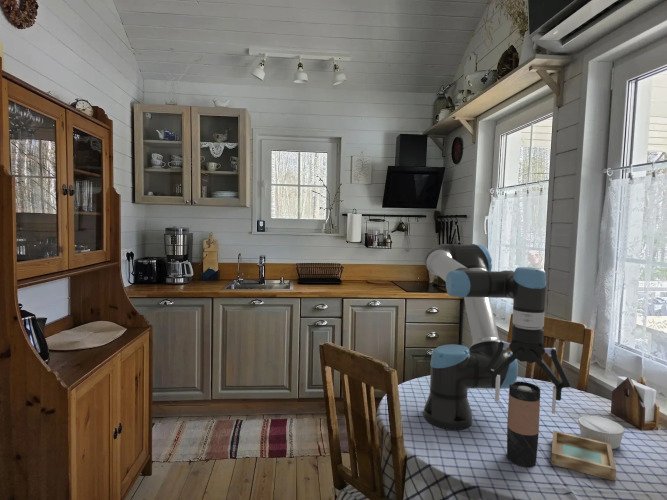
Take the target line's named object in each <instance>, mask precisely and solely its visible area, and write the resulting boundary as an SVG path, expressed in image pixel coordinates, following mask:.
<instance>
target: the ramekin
mask: <svg viewBox="0 0 667 500" xmlns="http://www.w3.org/2000/svg"><path fill="white" fill-rule="evenodd" d="M577 420H578V421H577V423H578V425H579V433H580V437H584V438H588V439H592V440H597V441H601V442H605V443H609V444H611V447H612V450H615V449H617V448H619V447H620V445H621V444H622V439H623V435H624V433H625V429H624V427H623V426H622V424H619V423H618V422H616V421H614V420H611V419H610V418H607V417H601V416H596V415H584V416H580V417H579V418H578V419H577Z"/></svg>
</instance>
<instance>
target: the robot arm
mask: <svg viewBox="0 0 667 500" xmlns="http://www.w3.org/2000/svg"><path fill="white" fill-rule="evenodd" d="M424 257H425V258H424V265H425V267H426V269H427V270H428V272H429V273H431V274H432V275H433V276H438V277H440V278H441V279H442V280H443V281H444V282H445V290H446V292H447V295H448V296H450V297H454V298H455V297H456V298H457V297H458V298H461V299H462V298H464V299H463V300H464V304H465V310H466V315H467V320H468V325H469V330H470V335H471V341H472V343H471V345H470V346H469V348H468V347H467V346H465V345H462V344H454V343H453V344H452V343H451V344H443V345H440V346H439V345H438V346H437V347H436V348H434V349H433V350H432V351H431V356H430V357H431V359H430V363H429V365H430V376H429V377H430V378H429V379H430V380H429V382H430V383H429V386H430V387H429V394H428V397H427V400H426V402H425V404H424V407H423V418H424V419H425V421H426V422H428V423H429V424H430V425H432V426H435V427H438V428H440V429H445V430H454V431H455V430H464V429H468V428H469V427H470V426H471V425H472V424H473V412H472V408H471V406H470V402H469V399H468V392H469V391H468V390H469V389H482V390H483V389H487V390H489V389H491V390H493V389H494V390H495V392H494V393H495V394H494V402H499V400H500V394H501V393H500V390H502V389H508V390H509V385H510V384H514V383H515V382H517V378H518V373H519V365H518V364H519V363H518V361H519V362H525V363H526V362H527V363H529V364H533V363H536V364H537V366H539V367H540V369H541V370H542V372H544V373H545V375H546V376H547V377H548V379H549V380H550V381H551V382H552V384H553V385H552V401H551V402H552V403H551V407H552V408H551V414H554V415H555V414H556V409H557V408H556V404H557V401H559V402H561V400H562V389H564V388H570V387H571V383H570V380H569V377H568V375H567V373H566V371H565V369H564V367H563V365H562V363H561V361H560V359H559V357H558V350H557V347H554V346H552V347H544V335H545V334H544V333H545V332H544V331H545V330H544V329H543V328H544V327H545V314H546V313H545V312H546V311H545V307H546V306H545V305H546V291H547V280H546V279H547V277H546V276H547V275H546V274H547V273H546V271H545V270H544V269H543V268H539V267H531V266H530V267H529V266H528V267H525V266H522V267H521V266H519V267H516V268H515V270H501V271H500V270H499V271H493V270H492V269H493V264H492V262H493V261H492V260H493V259H492V255H491V252H490V250H489V249H488V248H487V247H486V246H485V245H482V244H475V243H472V244H457V243H456V244H455V243H443V244H438V245H436V246H433V247H432V248H431V249H429V250H428V251H427V253H426V254H425V256H424ZM491 298H492V299H493V298H494V299H499V298H500V299H501V298H502V299H512V301H513V302H512V305H513V306H512V318H511V319H512V322H511V323H512V324H513V325H512V327H511V341H510V342H507V341H505V340H503V339H500V337H499V332H498V331H499V330H498V328H497V324H496V323H497V322H496V320H495V315H494V312H493V311H494V310H493V307H492V302H491ZM508 348H509V349H510V350H507V349H508ZM544 354H547V356H548V357H549V358H551V360H552V363H553V365H554V367H555V369H556V372H557V373H558V375H559V377H560V379H559V378H558V377H557V375H556V373H554V371H553V370H552V369H551V368H550V366H549V365H548V364H547V363H546V361H545V359H544V358H543V357H542V356H543V355H544Z"/></svg>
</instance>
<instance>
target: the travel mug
mask: <svg viewBox="0 0 667 500" xmlns="http://www.w3.org/2000/svg"><path fill="white" fill-rule="evenodd" d="M540 406H541V388H540V387H539V386H538V385H536V384H533V383H530V382H527V381H516V382H515V383H514V384H510V385H509V388H508V407H507V421H506V422H507V423H506V424H507V425H506V429H507V430H506V457H507V460H508V461H509V462H511V463H512V464H514V465H516V466H517V467H518V466H519V467H523V468H532V467H535V466H536V463H537V457H538V447H539V445H538V443H539V436H540V435H539V434H540V412H541V411H540V410H541V408H540Z"/></svg>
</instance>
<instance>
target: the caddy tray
mask: <svg viewBox="0 0 667 500" xmlns="http://www.w3.org/2000/svg"><path fill="white" fill-rule="evenodd" d="M551 442H552V443H551V460H550V461H551V462H550V464H551V465H554V466H557V467H562V468H565V469H568V470H573V471H575V472H580V473H583V474H587V475H590V476H595V477H598V478H602V479H605V480H609V481H613V482H616V480H617V479H616V475H617V474H616V473H617V468H616V463H615V458H614V454H613V449H612V447H611V444H609V443H605V442H601V441H597V440H592V439H588V438H584V437H582V436H578V435H575V434H570V433H567V432H566V433H565V432H562V431H557V430H554V429H553V430H552V441H551Z"/></svg>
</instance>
